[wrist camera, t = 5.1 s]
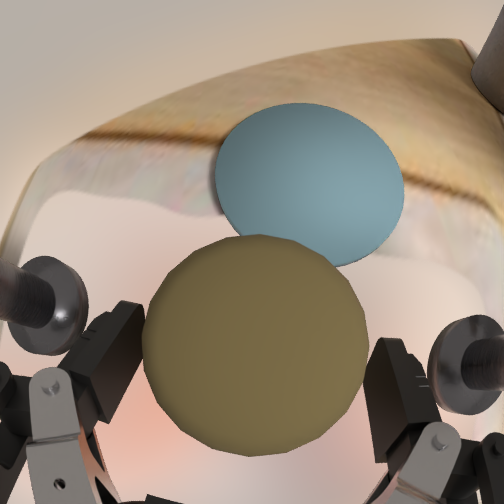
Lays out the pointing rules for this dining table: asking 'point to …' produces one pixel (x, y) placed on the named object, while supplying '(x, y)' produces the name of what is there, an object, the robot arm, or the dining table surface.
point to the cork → (255, 345)
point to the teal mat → (310, 181)
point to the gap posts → (76, 313)
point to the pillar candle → (492, 66)
